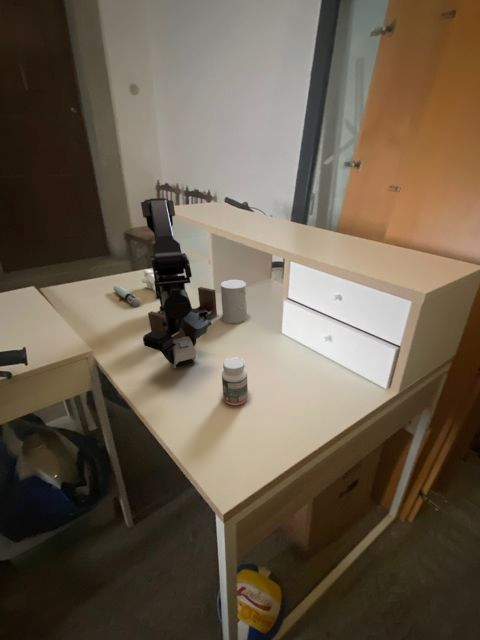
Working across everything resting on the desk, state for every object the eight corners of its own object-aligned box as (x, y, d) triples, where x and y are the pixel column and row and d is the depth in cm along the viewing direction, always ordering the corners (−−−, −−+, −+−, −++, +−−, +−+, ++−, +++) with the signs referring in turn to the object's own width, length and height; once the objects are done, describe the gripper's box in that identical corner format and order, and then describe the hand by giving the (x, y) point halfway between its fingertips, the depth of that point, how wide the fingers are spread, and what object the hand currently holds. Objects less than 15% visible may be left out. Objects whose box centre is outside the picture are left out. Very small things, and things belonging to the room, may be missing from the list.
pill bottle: (223, 391, 84) (221, 356, 79) (247, 390, 85) (246, 354, 79) (223, 406, 79) (220, 370, 74) (248, 405, 80) (247, 369, 75)
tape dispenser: (173, 372, 94) (176, 359, 86) (166, 349, 96) (168, 335, 87) (194, 366, 97) (199, 353, 88) (187, 344, 98) (191, 330, 90)
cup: (243, 324, 115) (242, 289, 109) (219, 321, 116) (217, 287, 110) (249, 313, 122) (248, 280, 116) (226, 311, 123) (225, 278, 117)
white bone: (178, 295, 136) (175, 274, 132) (156, 300, 132) (153, 279, 128) (162, 284, 147) (159, 265, 142) (142, 288, 142) (138, 269, 138)
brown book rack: (153, 342, 105) (147, 313, 100) (203, 312, 123) (200, 286, 118) (168, 347, 102) (163, 317, 97) (217, 316, 120) (215, 289, 115)
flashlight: (107, 289, 137) (127, 305, 124) (116, 282, 138) (137, 296, 125) (113, 295, 139) (133, 311, 126) (121, 288, 140) (142, 303, 127)
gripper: (173, 324, 74) (182, 383, 82) (224, 295, 88) (227, 348, 96) (136, 313, 79) (147, 370, 87) (189, 287, 93) (195, 339, 101)
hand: (182, 356), depth 93 cm, fingers closed on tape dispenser, 7 cm apart
